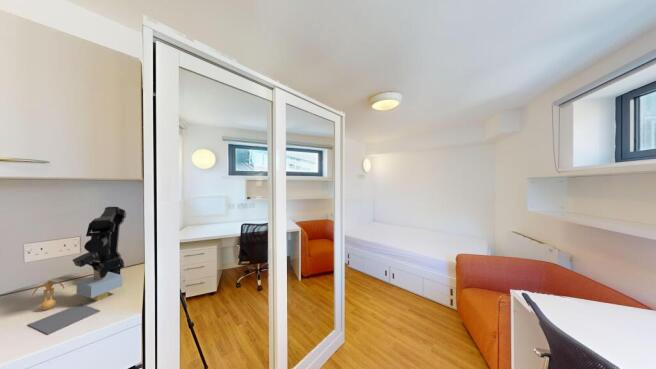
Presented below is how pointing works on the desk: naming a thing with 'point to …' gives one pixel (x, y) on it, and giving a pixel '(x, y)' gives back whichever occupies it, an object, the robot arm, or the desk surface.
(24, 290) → the desk surface
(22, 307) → the desk surface
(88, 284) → the cover
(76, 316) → the mat
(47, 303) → the figurine
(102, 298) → the cube
